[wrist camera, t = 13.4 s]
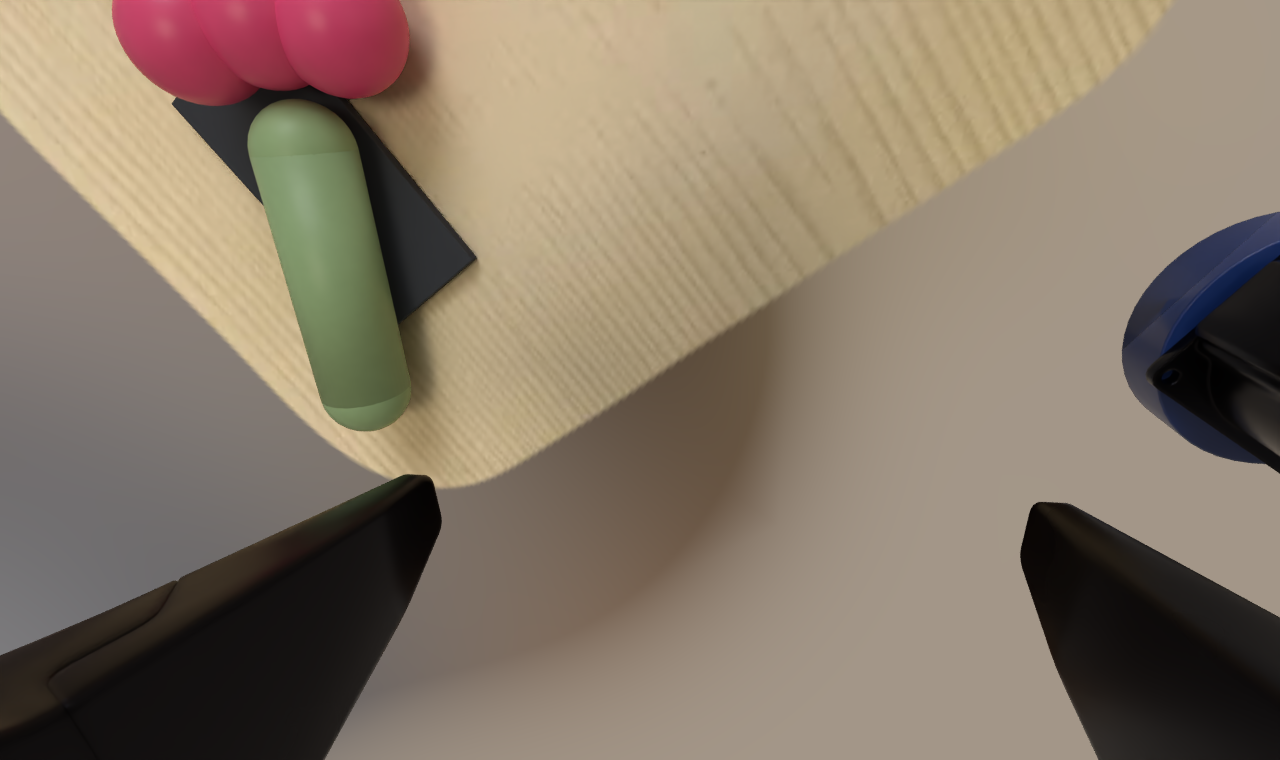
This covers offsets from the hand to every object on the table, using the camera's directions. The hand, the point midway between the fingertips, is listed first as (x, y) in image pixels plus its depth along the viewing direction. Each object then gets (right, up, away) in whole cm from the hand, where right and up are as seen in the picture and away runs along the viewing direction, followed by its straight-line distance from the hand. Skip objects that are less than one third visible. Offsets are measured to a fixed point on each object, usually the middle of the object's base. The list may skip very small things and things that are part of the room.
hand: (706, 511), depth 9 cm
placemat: (-12, +9, +12) cm, 19 cm away
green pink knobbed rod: (-11, +8, +12) cm, 18 cm away
